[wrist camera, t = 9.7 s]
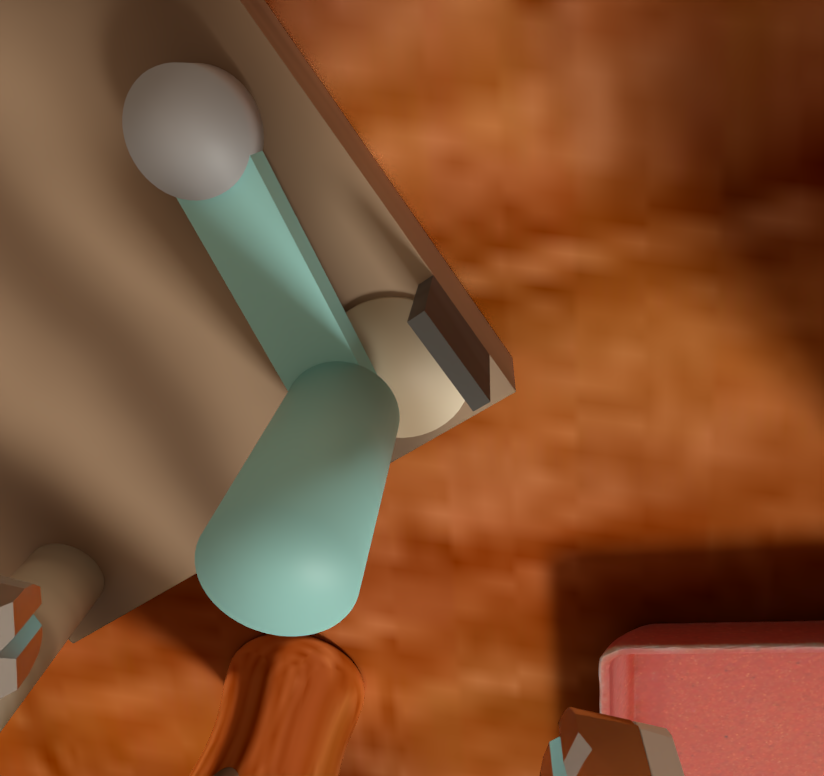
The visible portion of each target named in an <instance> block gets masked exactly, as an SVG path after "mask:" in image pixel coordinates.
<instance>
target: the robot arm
mask: <svg viewBox="0 0 824 776" xmlns="http://www.w3.org/2000/svg"><path fill="white" fill-rule="evenodd" d="M41 604H42V600H41V587H40V586H37V585H35V584H32V583H28V582H24V581H20V580H17V579H13V578H9V577H5V576H1V575H0V699H1V698H3V697H5V696H7V695H8V694H10V693H12V692H14V691H16V690H18V688H19V687H20V685H21V684H22V683H23V681H24V680H25V679H26V677H27V676H28V674H29V673H30V671H31V669H32V667H33V665H34V663H35V660H36V658H37V656H38V654H39V651H40V646H41V642H42V624H41V623H40V622H39V621H38V619H37V618H36V617H35V615H34V612H35V611H36V610H37V609H38V608H39V606H40V605H41ZM558 723H559V731H560V737H558V738H556V739H554V740H552V741H550V742H549V744H548V746H547V749H546V751H545V754H544V756H543V760H542V766H541V771H540V776H685V775H684V772H683V769H682V766H681V763H680V760H679V756H678V753H677V750H676V747H675V744H674V741H673V737H672V735H671V734H670V732H669V731H668V730H667V728H662V727H658V726H653V725H649V724H645V723H640V722H636V721H631V720H628V719H624V718H619V717H615V716H610V715H606V714H601V713H596V712H592V711H587V710H583V709H578V708H573V707H568V708H567V709H566V710H565V711H564V712H563V714H562V716H561V718H560V720H559V722H558Z"/></svg>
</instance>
